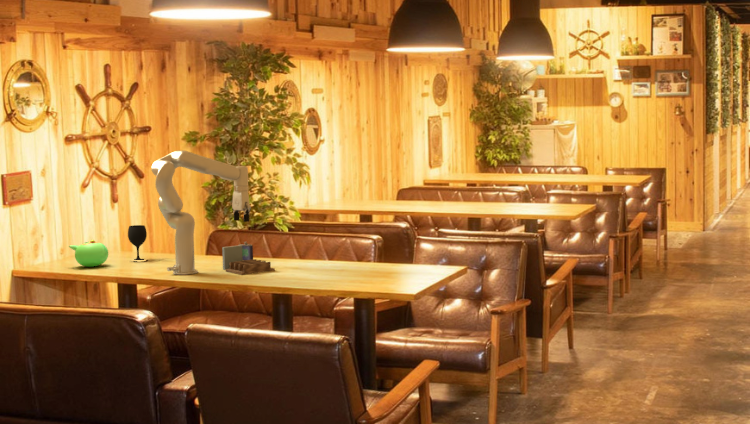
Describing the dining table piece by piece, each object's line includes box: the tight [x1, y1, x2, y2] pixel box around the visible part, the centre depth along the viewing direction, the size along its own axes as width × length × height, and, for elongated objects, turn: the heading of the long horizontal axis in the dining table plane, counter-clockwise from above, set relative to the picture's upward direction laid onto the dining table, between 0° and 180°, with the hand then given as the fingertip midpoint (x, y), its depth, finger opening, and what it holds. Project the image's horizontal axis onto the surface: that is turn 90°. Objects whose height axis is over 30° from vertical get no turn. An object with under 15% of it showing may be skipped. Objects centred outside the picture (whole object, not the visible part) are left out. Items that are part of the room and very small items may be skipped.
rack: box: [225, 258, 276, 276], centre depth 498 cm, size 20×16×5 cm
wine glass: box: [127, 224, 148, 260], centre depth 542 cm, size 10×10×20 cm
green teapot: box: [68, 239, 109, 268], centre depth 522 cm, size 18×17×15 cm
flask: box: [240, 241, 254, 261], centre depth 538 cm, size 9×3×11 cm, turn 65°
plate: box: [221, 244, 243, 271], centre depth 507 cm, size 11×2×12 cm, turn 130°
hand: (241, 220), depth 511 cm, fingers open, 9 cm apart
